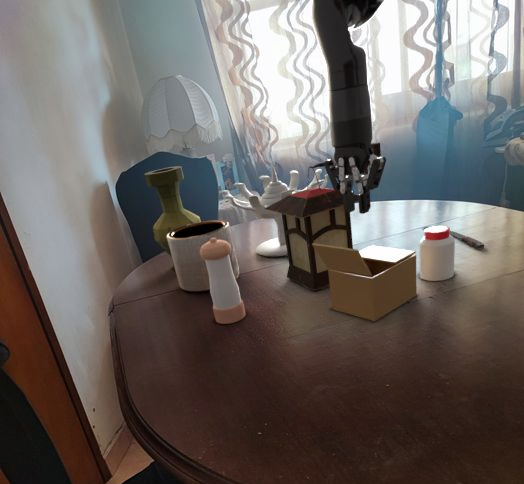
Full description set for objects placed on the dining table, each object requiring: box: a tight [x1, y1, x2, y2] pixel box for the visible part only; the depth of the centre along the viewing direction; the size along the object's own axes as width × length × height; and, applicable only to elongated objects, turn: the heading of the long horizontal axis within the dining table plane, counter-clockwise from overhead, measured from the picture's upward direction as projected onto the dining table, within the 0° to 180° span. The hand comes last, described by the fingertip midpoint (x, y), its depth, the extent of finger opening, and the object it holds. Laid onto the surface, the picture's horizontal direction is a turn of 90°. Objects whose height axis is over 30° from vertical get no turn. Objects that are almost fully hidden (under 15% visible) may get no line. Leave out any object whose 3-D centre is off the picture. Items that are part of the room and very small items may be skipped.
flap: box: [312, 243, 372, 276], centre depth 92 cm, size 7×12×1 cm
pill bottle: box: [418, 225, 456, 282], centre depth 108 cm, size 8×8×11 cm
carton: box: [328, 244, 418, 322], centre depth 101 cm, size 15×12×10 cm
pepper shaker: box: [200, 238, 246, 325], centre depth 105 cm, size 7×7×19 cm
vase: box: [144, 165, 202, 271], centre depth 146 cm, size 16×16×30 cm
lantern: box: [265, 142, 382, 292], centre depth 116 cm, size 18×26×30 cm
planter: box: [167, 219, 240, 293], centre depth 131 cm, size 18×18×16 cm
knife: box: [424, 226, 485, 249], centre depth 132 cm, size 28×1×5 cm
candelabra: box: [219, 162, 329, 258], centre depth 144 cm, size 34×35×27 cm
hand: (357, 211), depth 92 cm, fingers open, 3 cm apart
